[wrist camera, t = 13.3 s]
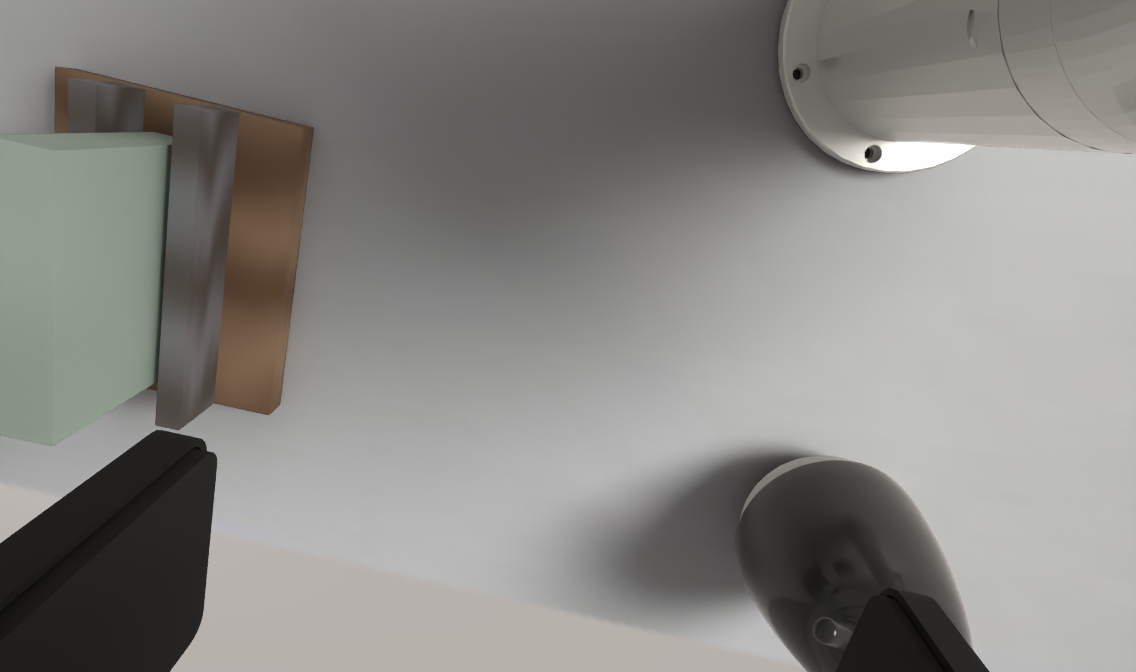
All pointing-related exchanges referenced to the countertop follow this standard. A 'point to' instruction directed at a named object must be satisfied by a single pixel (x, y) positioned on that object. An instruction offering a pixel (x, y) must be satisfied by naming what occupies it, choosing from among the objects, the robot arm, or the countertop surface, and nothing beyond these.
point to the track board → (212, 237)
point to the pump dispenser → (835, 554)
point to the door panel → (79, 276)
